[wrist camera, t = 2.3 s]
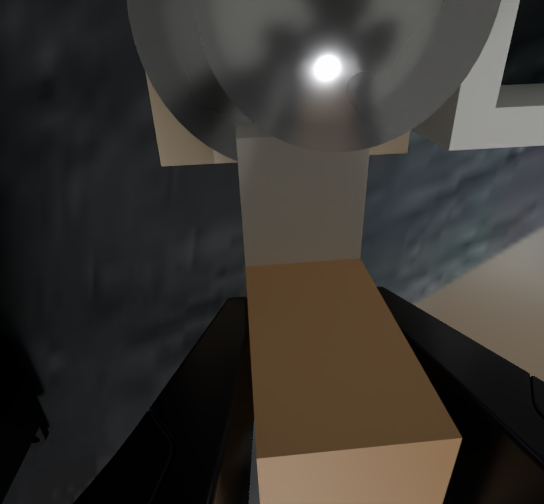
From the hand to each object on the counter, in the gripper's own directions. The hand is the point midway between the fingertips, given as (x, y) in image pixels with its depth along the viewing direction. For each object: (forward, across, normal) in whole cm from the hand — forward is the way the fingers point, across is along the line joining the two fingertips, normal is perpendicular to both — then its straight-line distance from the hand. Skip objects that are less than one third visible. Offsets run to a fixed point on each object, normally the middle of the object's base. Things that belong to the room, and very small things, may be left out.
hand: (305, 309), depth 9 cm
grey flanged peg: (+7, 0, -6) cm, 9 cm away
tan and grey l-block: (+1, 0, -1) cm, 2 cm away
